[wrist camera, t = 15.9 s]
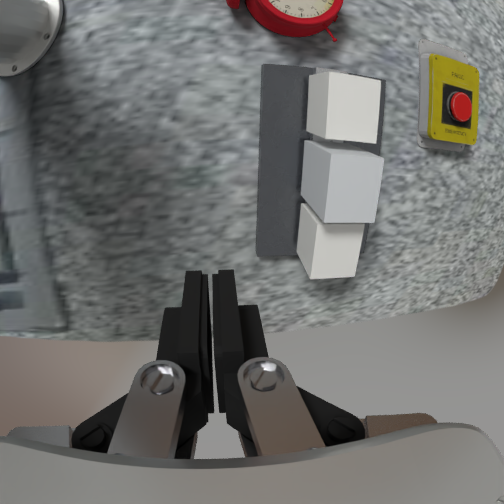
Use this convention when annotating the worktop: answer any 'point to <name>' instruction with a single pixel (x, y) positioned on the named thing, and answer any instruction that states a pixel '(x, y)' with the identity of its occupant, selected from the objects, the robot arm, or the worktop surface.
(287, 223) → the board
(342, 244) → the mounted modules
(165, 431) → the robot arm
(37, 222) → the worktop surface
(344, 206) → the block
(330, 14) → the alarm clock
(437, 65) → the emergency button
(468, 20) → the worktop surface
